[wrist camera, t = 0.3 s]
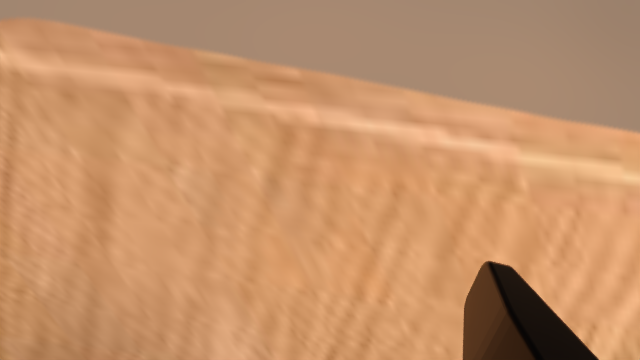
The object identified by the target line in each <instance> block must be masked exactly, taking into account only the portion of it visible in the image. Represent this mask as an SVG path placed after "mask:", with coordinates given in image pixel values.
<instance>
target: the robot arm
mask: <svg viewBox="0 0 640 360" xmlns="http://www.w3.org/2000/svg"><path fill="white" fill-rule="evenodd" d="M463 360H599V359H598V358H597V357H596V356H595V355H594V354H593V353H592V352H591V351H590V350H589V349H588V347H587V346H586V345H585V344H584V343H583V342H582V341H581V340H580V339H579V338H578V337H577V336H576V335H575V334H574V333H573V332H572V330H571V329H570V328H569V327H568V326H567V325H566V324H565V323H564V322H563V321H562V320H561V319H560V318H559V317H558V316H557V314H556V313H555V312H554V311H553V310H552V309H551V308H550V307H549V306H548V305H547V304H546V303H545V302H544V301H543V300H542V298H541V297H540V296H539V295H538V294H537V293H536V292H535V291H534V290H533V289H532V288H531V287H530V286H529V285H528V284H527V283H526V281H525V280H524V279H523V278H522V277H521V276H520V275H519V274H518V273H517V272H516V271H515V270H514V269H513V268H512V267H511V266H508V265H505V264H500V263H496V262H492V261H487V262H485V263H484V264H483V265H482V266H481V268H480V270H479V272H478V274H477V276H476V279H475V281H474V283H473V285H472V287H471V289H470V291H469V293H468V295H467V298H466V301H465V306H464V331H463Z"/></svg>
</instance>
